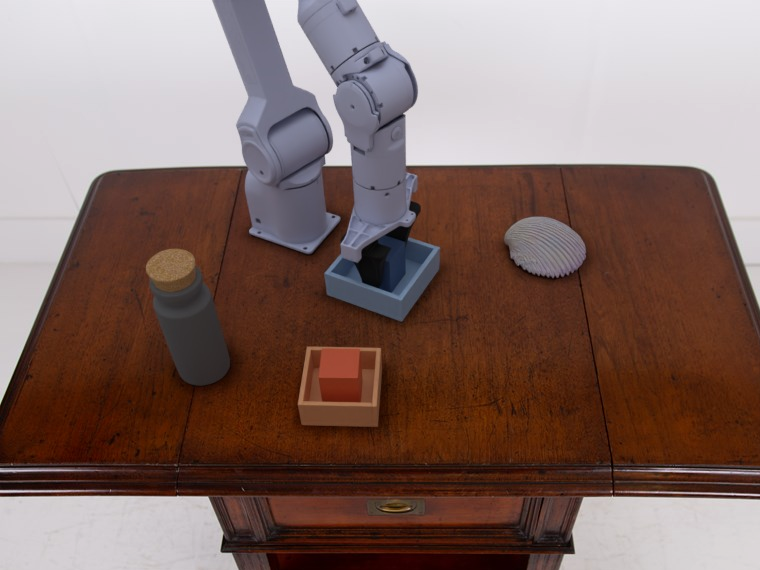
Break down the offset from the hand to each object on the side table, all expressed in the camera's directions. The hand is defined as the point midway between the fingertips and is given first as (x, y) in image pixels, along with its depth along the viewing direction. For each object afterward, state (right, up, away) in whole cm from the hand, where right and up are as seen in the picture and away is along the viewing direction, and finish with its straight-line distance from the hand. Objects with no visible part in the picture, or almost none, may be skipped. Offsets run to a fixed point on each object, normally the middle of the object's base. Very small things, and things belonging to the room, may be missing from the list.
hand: (383, 270), depth 91 cm
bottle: (-20, -12, -7) cm, 24 cm away
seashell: (+20, +3, +5) cm, 21 cm away
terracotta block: (-4, -15, -10) cm, 18 cm away
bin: (0, -1, +1) cm, 2 cm away
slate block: (0, -1, +1) cm, 1 cm away
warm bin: (-4, -15, -10) cm, 18 cm away
